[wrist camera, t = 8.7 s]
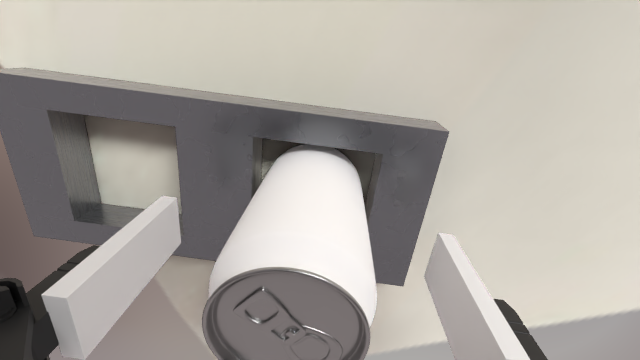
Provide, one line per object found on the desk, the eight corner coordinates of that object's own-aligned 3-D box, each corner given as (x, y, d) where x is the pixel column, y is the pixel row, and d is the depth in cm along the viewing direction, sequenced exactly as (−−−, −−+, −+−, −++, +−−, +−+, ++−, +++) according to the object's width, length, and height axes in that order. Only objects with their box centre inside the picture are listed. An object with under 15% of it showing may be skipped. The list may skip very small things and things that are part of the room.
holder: (24, 67, 19) (-20, 70, 17) (435, 121, 19) (449, 131, 16) (63, 217, 23) (34, 236, 21) (396, 262, 23) (403, 286, 21)
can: (312, 241, 23) (286, 419, 12) (249, 182, 21) (150, 326, 10) (380, 189, 21) (425, 348, 10) (315, 120, 19) (283, 217, 8)
